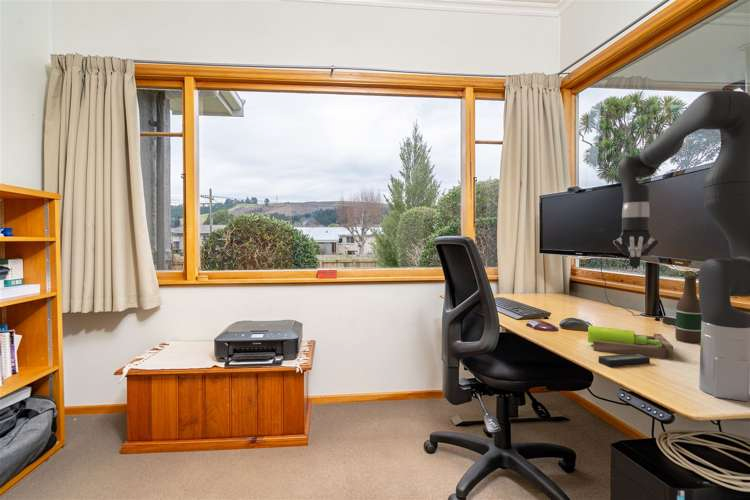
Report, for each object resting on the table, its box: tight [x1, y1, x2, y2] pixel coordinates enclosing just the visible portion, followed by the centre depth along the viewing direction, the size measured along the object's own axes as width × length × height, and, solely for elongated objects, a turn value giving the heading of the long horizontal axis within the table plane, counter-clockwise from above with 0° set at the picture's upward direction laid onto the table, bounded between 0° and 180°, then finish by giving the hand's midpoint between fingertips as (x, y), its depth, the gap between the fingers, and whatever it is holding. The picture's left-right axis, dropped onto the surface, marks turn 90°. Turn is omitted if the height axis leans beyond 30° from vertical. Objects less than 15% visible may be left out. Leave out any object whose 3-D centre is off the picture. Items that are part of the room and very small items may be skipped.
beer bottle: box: [675, 274, 702, 345], centre depth 138 cm, size 8×8×24 cm
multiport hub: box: [597, 353, 651, 368], centre depth 115 cm, size 4×14×2 cm, turn 101°
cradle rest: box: [592, 333, 674, 360], centre depth 130 cm, size 16×22×4 cm
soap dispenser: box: [587, 325, 660, 347], centre depth 128 cm, size 6×7×20 cm
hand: (634, 268), depth 128 cm, fingers closed
